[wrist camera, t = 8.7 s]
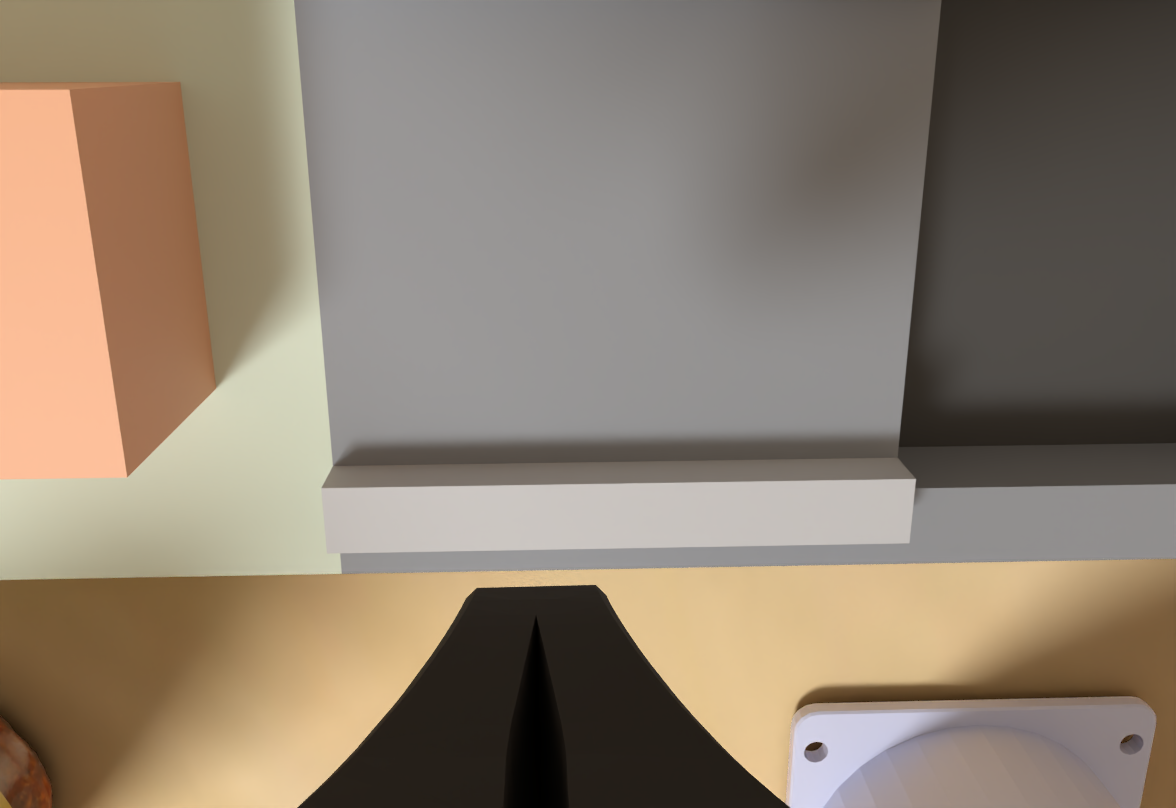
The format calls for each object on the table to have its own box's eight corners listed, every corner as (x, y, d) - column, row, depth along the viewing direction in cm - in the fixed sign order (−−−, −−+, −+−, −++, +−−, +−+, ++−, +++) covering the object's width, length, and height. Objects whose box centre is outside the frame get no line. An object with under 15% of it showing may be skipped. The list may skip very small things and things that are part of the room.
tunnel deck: (1414, 499, 22) (1566, 577, 19) (-36, 523, 21) (-143, 609, 18) (1581, -132, 18) (1807, -173, 15) (-170, -139, 18) (-339, -183, 14)
